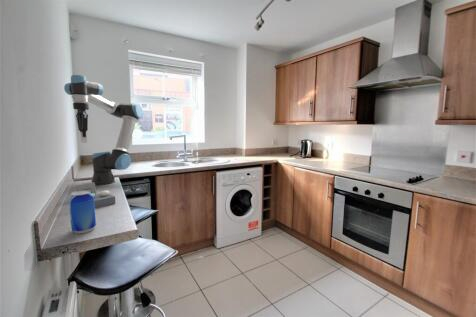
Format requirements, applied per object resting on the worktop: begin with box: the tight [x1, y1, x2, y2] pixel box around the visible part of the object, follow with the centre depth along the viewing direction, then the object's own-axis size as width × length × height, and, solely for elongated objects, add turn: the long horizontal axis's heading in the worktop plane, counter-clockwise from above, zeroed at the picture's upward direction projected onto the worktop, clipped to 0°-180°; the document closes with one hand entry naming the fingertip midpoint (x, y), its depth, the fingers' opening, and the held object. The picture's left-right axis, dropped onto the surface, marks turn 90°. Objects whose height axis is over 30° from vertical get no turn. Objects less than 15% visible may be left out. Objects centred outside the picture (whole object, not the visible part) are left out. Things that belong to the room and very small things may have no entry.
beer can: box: [68, 190, 97, 234], centre depth 94 cm, size 8×8×16 cm
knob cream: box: [99, 190, 110, 197], centre depth 129 cm, size 4×4×6 cm
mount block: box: [94, 193, 116, 209], centre depth 126 cm, size 13×12×4 cm
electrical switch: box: [75, 182, 98, 194], centre depth 135 cm, size 9×5×9 cm, turn 141°
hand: (84, 142), depth 139 cm, fingers closed
